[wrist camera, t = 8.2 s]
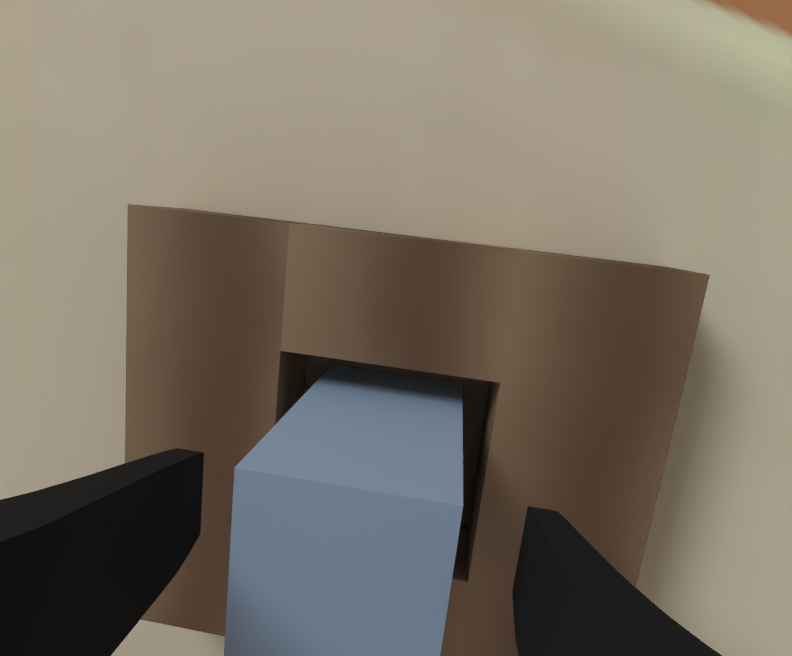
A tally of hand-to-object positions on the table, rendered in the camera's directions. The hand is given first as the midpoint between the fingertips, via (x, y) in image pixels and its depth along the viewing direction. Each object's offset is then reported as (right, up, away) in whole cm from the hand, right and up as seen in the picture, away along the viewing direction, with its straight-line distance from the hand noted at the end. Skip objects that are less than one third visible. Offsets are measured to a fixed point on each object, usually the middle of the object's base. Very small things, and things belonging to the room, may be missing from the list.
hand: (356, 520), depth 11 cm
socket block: (+1, +1, +5) cm, 5 cm away
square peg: (+1, +1, +5) cm, 5 cm away
